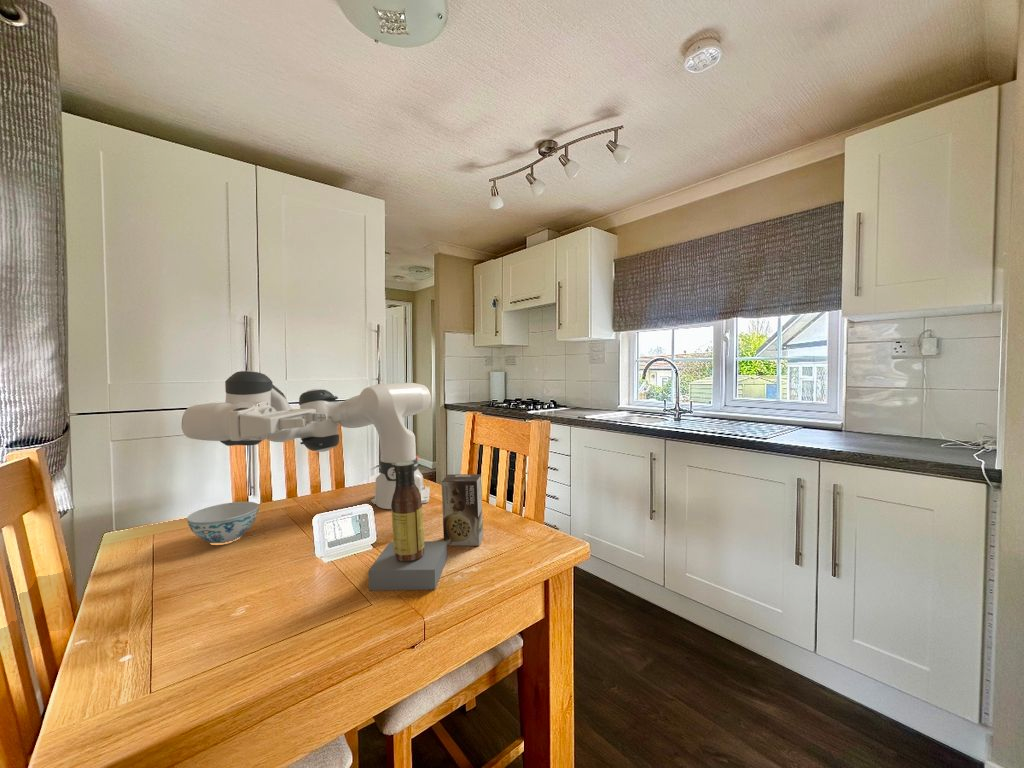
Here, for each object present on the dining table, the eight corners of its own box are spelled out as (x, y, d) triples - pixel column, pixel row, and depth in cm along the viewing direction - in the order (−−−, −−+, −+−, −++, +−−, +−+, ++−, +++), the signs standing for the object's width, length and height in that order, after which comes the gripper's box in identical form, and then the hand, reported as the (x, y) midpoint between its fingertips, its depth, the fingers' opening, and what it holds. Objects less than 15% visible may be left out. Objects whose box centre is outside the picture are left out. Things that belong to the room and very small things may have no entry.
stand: (390, 559, 92) (389, 541, 92) (447, 558, 91) (446, 541, 91) (369, 590, 79) (368, 570, 79) (435, 589, 78) (434, 569, 78)
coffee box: (483, 535, 104) (482, 473, 103) (479, 546, 97) (477, 480, 97) (449, 535, 105) (447, 473, 104) (442, 545, 98) (440, 480, 98)
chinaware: (216, 557, 94) (215, 524, 94) (173, 549, 99) (172, 518, 99) (273, 532, 109) (272, 504, 108) (233, 526, 114) (231, 499, 113)
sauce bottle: (414, 547, 89) (411, 457, 88) (430, 555, 84) (428, 461, 84) (387, 557, 84) (384, 462, 83) (402, 567, 80) (399, 467, 79)
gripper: (283, 428, 103) (337, 427, 103) (225, 442, 83) (291, 441, 82) (282, 403, 103) (336, 402, 103) (223, 412, 82) (290, 410, 82)
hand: (316, 420), depth 92 cm, fingers open, 8 cm apart
